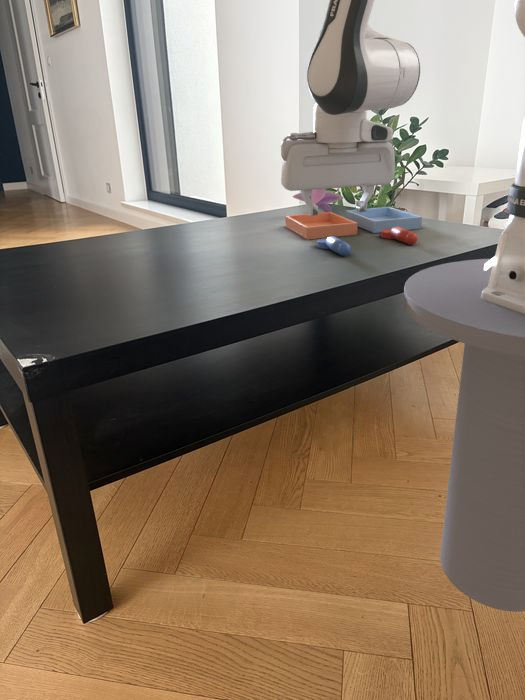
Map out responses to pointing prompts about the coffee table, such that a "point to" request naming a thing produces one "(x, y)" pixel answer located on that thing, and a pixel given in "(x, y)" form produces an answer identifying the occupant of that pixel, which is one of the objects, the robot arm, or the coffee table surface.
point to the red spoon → (400, 235)
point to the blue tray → (384, 219)
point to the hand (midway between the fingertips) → (337, 213)
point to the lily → (322, 198)
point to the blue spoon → (335, 245)
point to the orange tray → (321, 225)
